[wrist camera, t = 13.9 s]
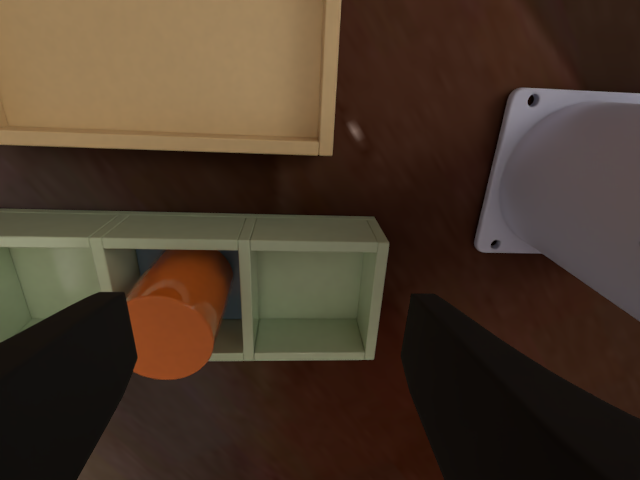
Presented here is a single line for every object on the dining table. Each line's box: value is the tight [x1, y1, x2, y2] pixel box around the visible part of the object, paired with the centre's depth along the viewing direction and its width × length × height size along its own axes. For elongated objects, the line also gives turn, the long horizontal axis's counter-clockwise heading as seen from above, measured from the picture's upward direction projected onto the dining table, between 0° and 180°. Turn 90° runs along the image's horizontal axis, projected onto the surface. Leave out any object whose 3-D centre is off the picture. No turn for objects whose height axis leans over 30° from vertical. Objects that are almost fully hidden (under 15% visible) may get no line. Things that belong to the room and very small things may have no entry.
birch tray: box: [0, 0, 342, 156], centre depth 13 cm, size 14×11×2 cm
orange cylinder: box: [126, 249, 234, 380], centre depth 16 cm, size 4×4×5 cm
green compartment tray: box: [0, 209, 390, 361], centre depth 17 cm, size 18×6×3 cm, turn 87°
